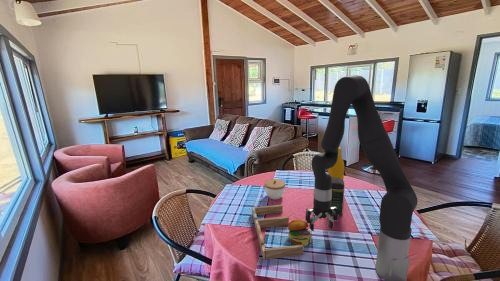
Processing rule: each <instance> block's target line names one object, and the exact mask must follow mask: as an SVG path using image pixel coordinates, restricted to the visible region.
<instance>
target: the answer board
mask: <svg viewBox="0 0 500 281" xmlns="http://www.w3.org/2000/svg"><path fill="white" fill-rule="evenodd" d="M283 206H284V205H283V204H276V205H263V206H255V207H251V216H252V219H253V223H254V227H255V232H256V235H257V240H258V243H259V248H260V252H261V256H262V259H263V260H271V259H279V258H280V257H281V258H287V257H288V258H289V257H296V256H303V255H304V246H303V245H297V244H295V245H286V246H279V247H270V248H266V246H265V240H264V238H263V233H262V230H261V229H263V228H272V227H273V228H274V227H283V226H288V224H289V223H290V222H289V220H290V218H289V216H279V217H270V218H259V219H258V216H261V215H269V214H279V213H281V214H282V213H284V212H283V211H284V210H283V208H284V207H283Z"/></svg>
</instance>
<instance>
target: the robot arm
mask: <svg viewBox="0 0 500 281" xmlns="http://www.w3.org/2000/svg"><path fill="white" fill-rule="evenodd" d="M331 99H332V100H331V107H330V110H329V117H328V121H327V124H326V128H325V130H324V134H323V135H322V136H323V137H322V139H321V142H320V147H321V148H322V150H324V151H323V152H321V153H317V154H315V155H313V157H312V158H311V168H312V172H313V177H314V189H313V204H312V205H313V208H312V209H309V208H306V209H305V218H304V219H305V222H307V224H308V228H309V229H310V230H311V232H314V231H315V222H317V221H318V220H319V219H327V218H328V225H327V226H328V228H329V230H332V229H333V228H334V222H335V221H338V220H339V215H338V209H337V208H336V207H335V206H333V207H332V208H331V199H332V190H331V187H332V177H331V175H330V174H328V172H327V170H328V169H329V168H331V167H333V166H334V165H335V164H336V162H337V159H338V148H339V147H340V145H341V142H342V141H343V137H344V135H345V128H346V127H345V126H346V125H345V123H346V116H347V114H348V111H349V109H350V107H351V106H352V108H353V110H354V112H355V115H356V118H357V119H356V121H357V137H358V141H359V144H360V147H361V149H362V151H363V154H364V156H365V158H366V159H367V160H368V162H369V163H370V164H371V165H372V167H374V168H375V169H376V171H377V172H378V173H379V175H380V177H381V178H382V181H383V184H384V187H385V191H386V193H385V194H384V195H383V196H382V198H381V200H380V206H379V221H378V222H379V234H378V235H379V236H378V242H377V250H376V260H375V261H376V262H375V268H374V269H375V271H376V273H377V275H378V276H379V277H381V278H382V279H384V281H407V279H408V273H409V267H410V266H409V265H410V261H411V259H410V257H409V251H410V243H411V237H412V228H411V226H412V220H413V214H414V212H415V210H416V208H417V206H418V197H417V194H416V192H415V190H414V188H413V187H412V185H411V184H410V182H409V180H408V178H407V177H406V174H405V172H404V170H403V169H402V165H401V163H400V160H399V158H398V155H397V153H396V151H395V148H394V146H393V143H392V140H391V138H390V136H389V134H388V131H387V129H386V128H385V125H384V123H383V121H382V118H381V116H380V113H379V112H378V109H377V107H376V104H375V101H374V98H373V94H372V90H371V88H370V85H369V82H368V80H367V79H366V78H365V77H363V76H361V75H359V74H356V75H355V74H354V75H346V76H342V77H340V78H339V79H338V80H337V81H336V83H335V85H334V87H333V93H332V98H331ZM331 211H333V215H332V216H331V214H330V213H331Z"/></svg>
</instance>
